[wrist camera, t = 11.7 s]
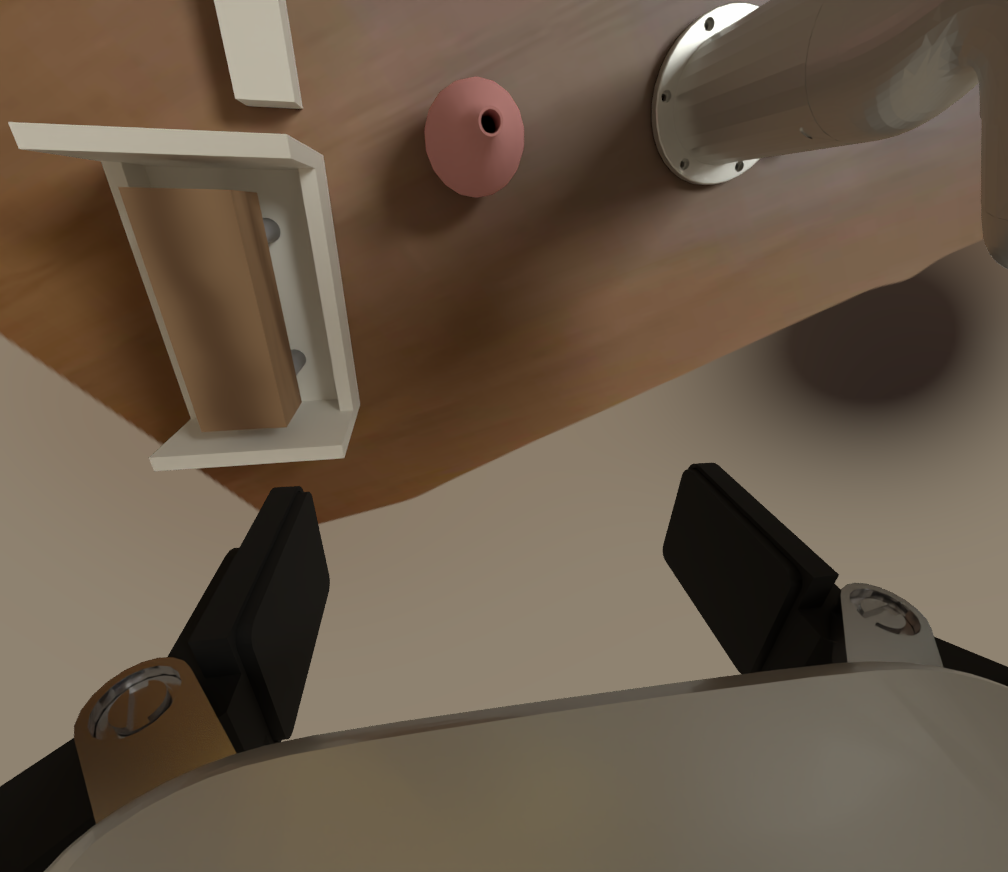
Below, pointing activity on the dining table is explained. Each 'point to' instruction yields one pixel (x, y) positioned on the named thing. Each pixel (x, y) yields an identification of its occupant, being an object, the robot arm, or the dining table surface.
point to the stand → (295, 258)
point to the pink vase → (474, 136)
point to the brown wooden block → (218, 303)
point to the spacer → (259, 52)
